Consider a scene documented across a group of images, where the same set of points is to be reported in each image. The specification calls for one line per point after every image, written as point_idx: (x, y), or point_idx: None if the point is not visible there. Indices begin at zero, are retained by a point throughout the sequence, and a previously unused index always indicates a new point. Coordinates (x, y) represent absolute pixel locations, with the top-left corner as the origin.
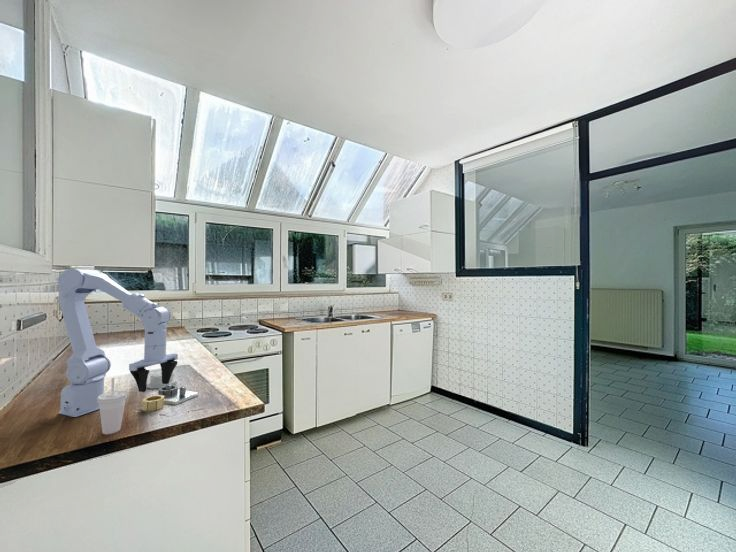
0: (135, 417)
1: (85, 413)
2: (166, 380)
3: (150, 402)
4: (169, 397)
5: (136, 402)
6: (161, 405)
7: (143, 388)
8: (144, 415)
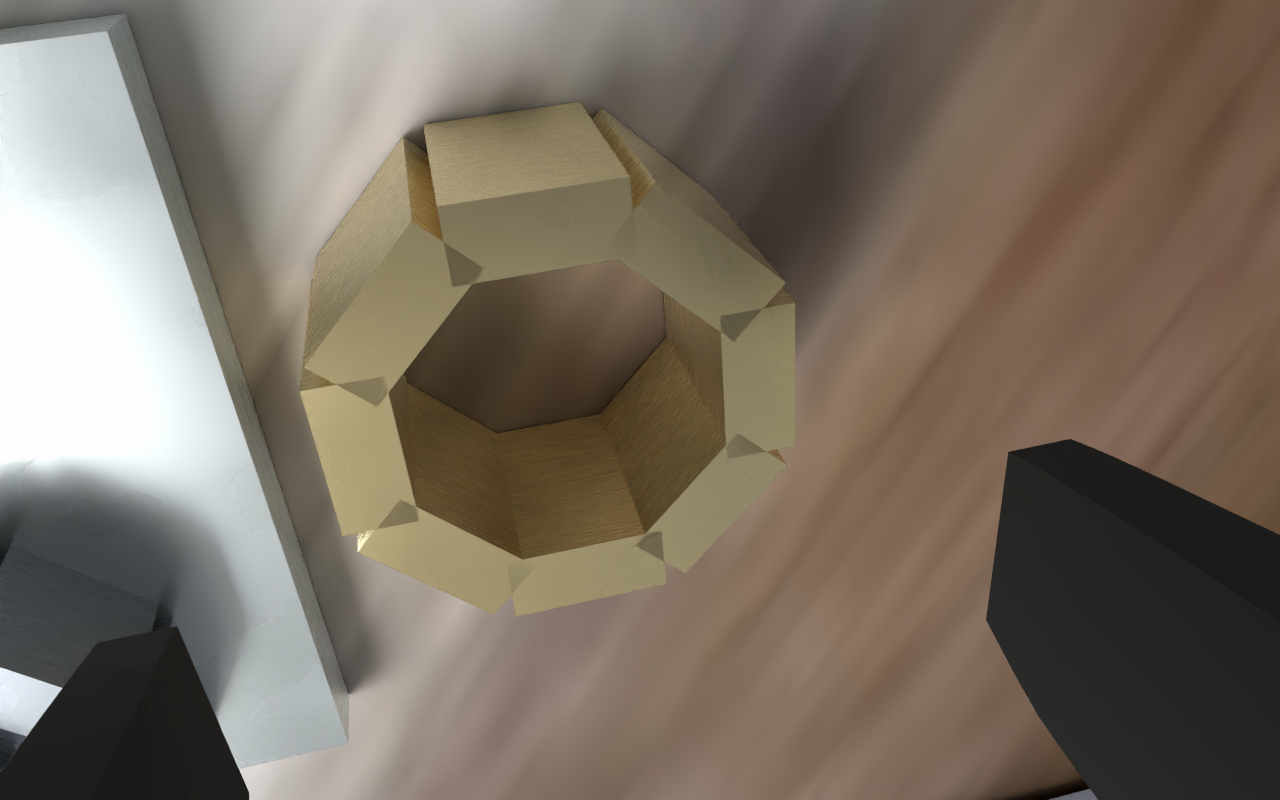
0: (977, 127)
1: (1079, 793)
2: (161, 769)
3: (745, 245)
4: (75, 484)
5: (535, 766)
6: (468, 141)
7: (1177, 500)
8: (856, 65)
